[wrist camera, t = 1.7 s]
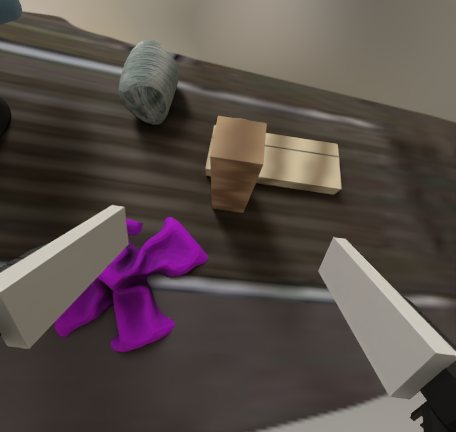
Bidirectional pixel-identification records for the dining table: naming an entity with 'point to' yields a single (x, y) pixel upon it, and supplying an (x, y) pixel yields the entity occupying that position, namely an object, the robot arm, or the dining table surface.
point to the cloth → (135, 286)
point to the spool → (149, 82)
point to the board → (297, 164)
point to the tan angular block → (236, 162)
